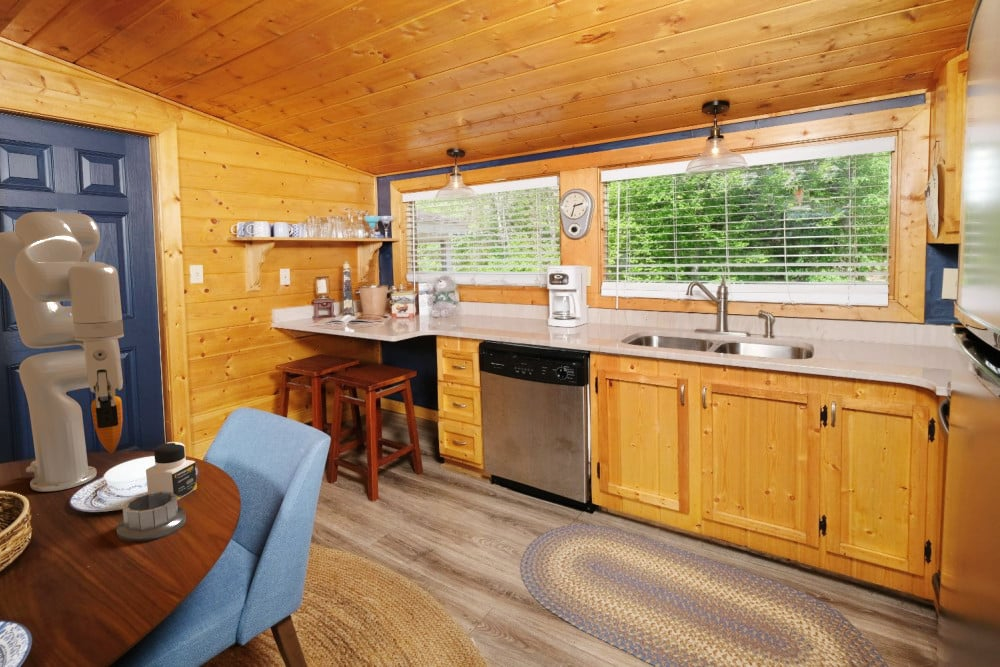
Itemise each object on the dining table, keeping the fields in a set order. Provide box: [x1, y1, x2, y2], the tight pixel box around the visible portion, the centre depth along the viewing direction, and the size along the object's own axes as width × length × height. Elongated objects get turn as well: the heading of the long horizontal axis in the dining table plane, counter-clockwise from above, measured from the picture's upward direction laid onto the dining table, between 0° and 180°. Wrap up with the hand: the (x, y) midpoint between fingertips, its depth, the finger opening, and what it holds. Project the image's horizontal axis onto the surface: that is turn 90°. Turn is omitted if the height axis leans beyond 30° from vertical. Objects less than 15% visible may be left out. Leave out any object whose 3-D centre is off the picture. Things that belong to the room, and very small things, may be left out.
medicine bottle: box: [145, 441, 198, 501], centre depth 126 cm, size 7×7×12 cm
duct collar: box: [116, 491, 187, 543], centre depth 112 cm, size 12×12×6 cm
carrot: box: [90, 387, 124, 454], centre depth 106 cm, size 5×5×15 cm
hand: (108, 421), depth 106 cm, fingers closed on carrot, 4 cm apart
